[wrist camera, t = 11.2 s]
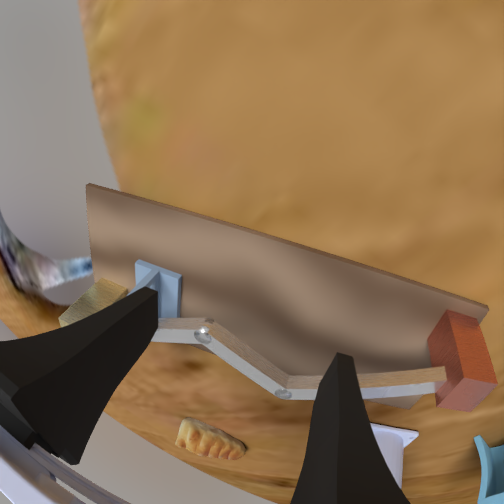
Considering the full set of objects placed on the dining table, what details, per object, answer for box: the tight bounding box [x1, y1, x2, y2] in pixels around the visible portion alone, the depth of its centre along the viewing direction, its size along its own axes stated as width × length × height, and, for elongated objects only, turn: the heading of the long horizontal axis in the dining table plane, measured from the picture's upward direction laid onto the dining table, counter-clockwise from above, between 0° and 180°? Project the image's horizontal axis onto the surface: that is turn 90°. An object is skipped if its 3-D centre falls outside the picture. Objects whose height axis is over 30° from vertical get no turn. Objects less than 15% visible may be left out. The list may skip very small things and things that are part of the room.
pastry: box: [176, 417, 246, 460], centre depth 37 cm, size 9×7×4 cm
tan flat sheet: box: [86, 183, 489, 409], centre depth 24 cm, size 13×32×1 cm, turn 80°
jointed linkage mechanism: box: [59, 277, 498, 412], centre depth 21 cm, size 5×32×6 cm, turn 92°
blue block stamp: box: [127, 259, 182, 318], centre depth 22 cm, size 4×6×10 cm, turn 170°
